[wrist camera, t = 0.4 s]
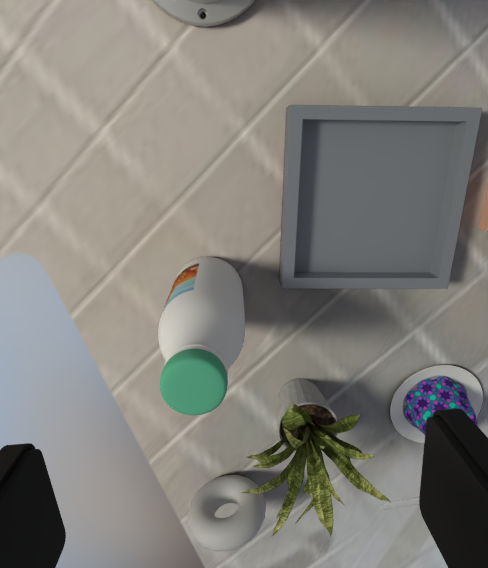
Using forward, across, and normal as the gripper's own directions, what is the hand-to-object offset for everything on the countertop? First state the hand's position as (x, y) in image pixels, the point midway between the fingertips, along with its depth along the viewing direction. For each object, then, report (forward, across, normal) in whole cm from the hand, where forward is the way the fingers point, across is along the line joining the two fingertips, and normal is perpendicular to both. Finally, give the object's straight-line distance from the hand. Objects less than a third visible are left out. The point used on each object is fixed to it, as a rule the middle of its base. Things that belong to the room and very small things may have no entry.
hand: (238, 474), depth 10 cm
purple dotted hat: (+36, -24, +26) cm, 51 cm away
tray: (+35, -14, -1) cm, 38 cm away
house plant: (+36, -5, +22) cm, 42 cm away
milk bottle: (+36, +3, +8) cm, 37 cm away
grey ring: (+36, +4, +36) cm, 51 cm away
